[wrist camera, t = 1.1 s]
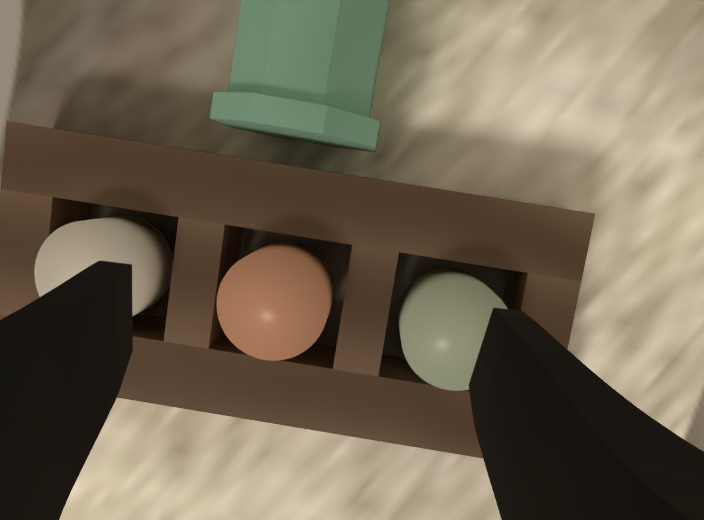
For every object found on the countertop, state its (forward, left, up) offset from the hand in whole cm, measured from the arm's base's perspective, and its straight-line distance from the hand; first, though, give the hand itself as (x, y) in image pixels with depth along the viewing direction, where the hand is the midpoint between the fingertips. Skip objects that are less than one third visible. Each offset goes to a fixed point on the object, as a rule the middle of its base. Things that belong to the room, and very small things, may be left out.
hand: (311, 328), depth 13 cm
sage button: (-1, -4, -10) cm, 11 cm away
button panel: (-1, +2, -12) cm, 12 cm away
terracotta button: (-1, +2, -11) cm, 11 cm away
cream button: (-1, +8, -10) cm, 13 cm away
